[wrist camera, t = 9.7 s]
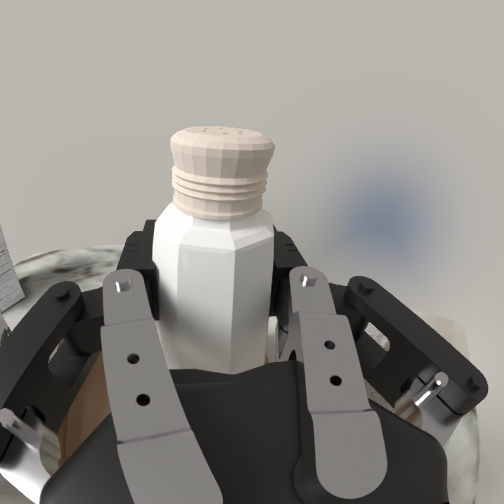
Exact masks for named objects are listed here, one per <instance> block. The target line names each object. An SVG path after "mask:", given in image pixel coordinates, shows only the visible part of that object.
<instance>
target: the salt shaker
mask: <svg viewBox="0 0 504 504" xmlns="http://www.w3.org/2000/svg"><path fill="white" fill-rule="evenodd" d="M170 144H171V151H172V155H173V159H174V163H175V165H174V166H173V167H172V172H173V174H172V179H173V181H172V186H173V187H174V188H175V194H174V195H173V202H172V203H170V204H169V205H168V206H167V208H166V209H165V210H164V211H163V213H162V214H161V216H160V217H159V218H158V219H157V221H156V222H155V228H154V238H153V255H152V260H153V261H154V262H155V268H156V281H157V292H158V302H159V311H160V314H159V320H154V321H155V325H156V328H157V332H158V335H159V339H160V342H161V346H162V349H163V352H164V356H165V359H166V362H167V365H168V368H169V369H200V370H206V371H212V372H218V373H225V374H238V373H241V372H244V371H247V370H250V369H253V368H256V367H259V366H262V365H264V362H265V352H266V342H267V331H268V320H269V308H270V297H271V284H272V272H273V256H274V229H273V220H272V215H271V214H270V213H269V212H267V211H266V210H264V209H262V199H261V197H262V194H263V193H264V192H265V191H266V186H265V185H266V184H267V180H266V178H267V177H268V173H267V171H266V169H267V167H268V165H269V162H270V160H271V158H272V156H273V153H274V148H275V146H274V143H273V142H272V140H271V139H270V138H268V137H266V136H265V135H263V134H261V133H259V132H256V131H251V130H246V129H240V128H232V127H219V126H199V127H189V128H186V129H183V130H181V131H179V132H177V133H175V134H174V135H173V136H172V138H171V140H170Z"/></svg>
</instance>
